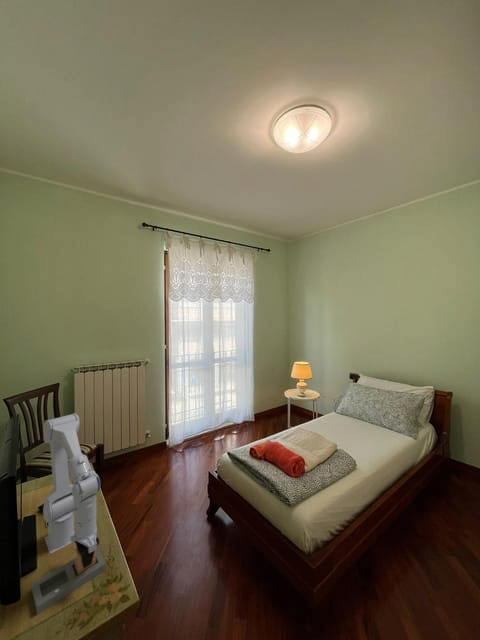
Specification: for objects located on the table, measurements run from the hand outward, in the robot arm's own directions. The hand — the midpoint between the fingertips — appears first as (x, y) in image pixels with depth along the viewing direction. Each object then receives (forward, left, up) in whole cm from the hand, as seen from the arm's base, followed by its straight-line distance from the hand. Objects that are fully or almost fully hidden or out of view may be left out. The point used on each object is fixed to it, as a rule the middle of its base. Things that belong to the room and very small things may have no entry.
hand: (85, 560), depth 79 cm
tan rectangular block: (0, 0, -3) cm, 3 cm away
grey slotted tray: (0, -4, -3) cm, 5 cm away
